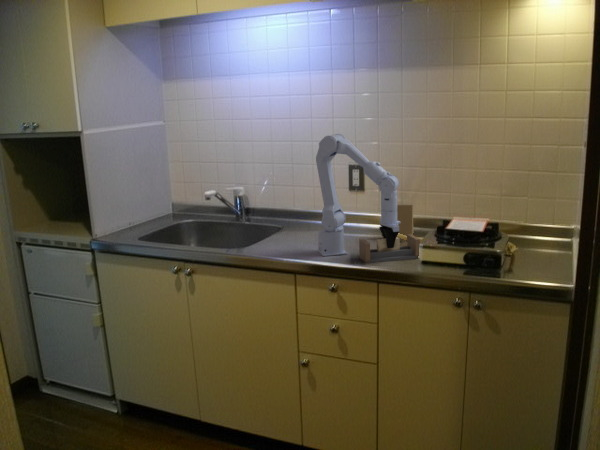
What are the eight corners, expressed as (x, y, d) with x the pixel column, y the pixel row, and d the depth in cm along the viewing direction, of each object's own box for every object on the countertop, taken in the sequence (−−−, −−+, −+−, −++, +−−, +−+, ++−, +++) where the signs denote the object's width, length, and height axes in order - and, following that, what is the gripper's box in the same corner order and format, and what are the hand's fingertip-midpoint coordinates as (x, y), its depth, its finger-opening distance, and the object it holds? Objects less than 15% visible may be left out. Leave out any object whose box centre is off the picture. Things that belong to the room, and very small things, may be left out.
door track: (366, 263, 200) (365, 243, 199) (359, 257, 208) (359, 238, 206) (419, 258, 204) (419, 239, 202) (411, 252, 212) (411, 234, 210)
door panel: (378, 256, 204) (378, 240, 203) (376, 255, 206) (376, 239, 205) (399, 254, 205) (399, 238, 204) (397, 253, 207) (397, 237, 206)
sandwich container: (414, 232, 242) (414, 197, 239) (412, 241, 228) (413, 204, 225) (394, 232, 244) (394, 197, 241) (391, 241, 230) (391, 204, 227)
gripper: (407, 212, 196) (407, 251, 199) (392, 205, 210) (392, 241, 213) (388, 214, 195) (388, 252, 198) (374, 206, 208) (374, 242, 211)
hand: (389, 247), depth 205 cm, fingers closed on door panel, 2 cm apart
